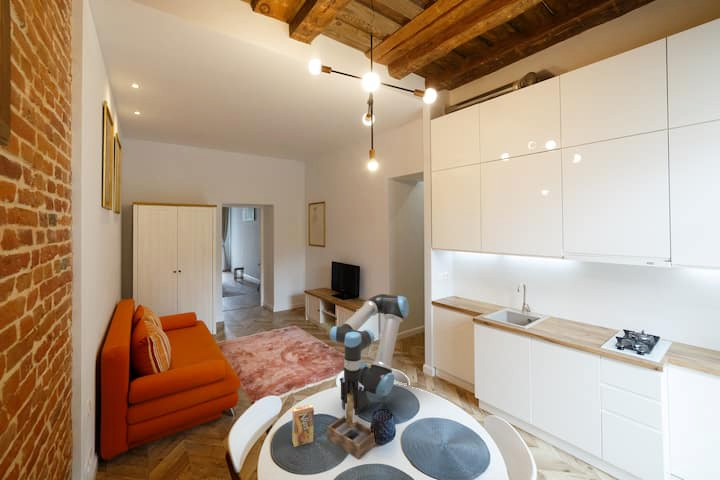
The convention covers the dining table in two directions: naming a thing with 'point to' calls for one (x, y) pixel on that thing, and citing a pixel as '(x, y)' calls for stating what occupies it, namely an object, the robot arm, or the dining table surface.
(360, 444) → the crate
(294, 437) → the candy box
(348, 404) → the peg
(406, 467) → the dining table surface
